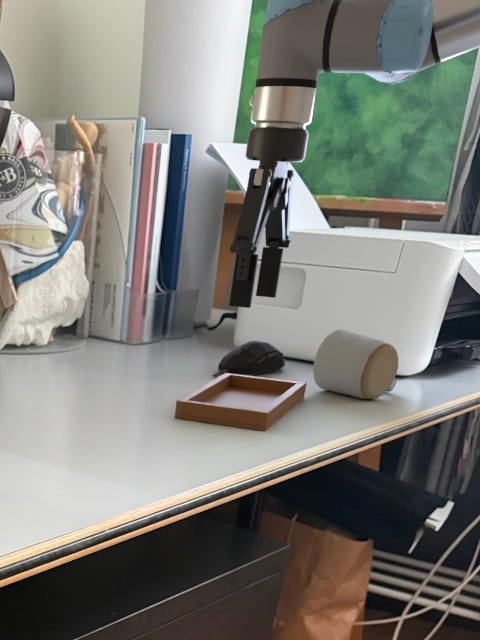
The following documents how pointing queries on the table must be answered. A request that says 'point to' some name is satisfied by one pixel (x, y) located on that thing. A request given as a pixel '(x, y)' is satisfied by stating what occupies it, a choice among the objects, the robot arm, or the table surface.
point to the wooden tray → (241, 401)
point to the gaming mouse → (252, 359)
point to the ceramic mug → (355, 365)
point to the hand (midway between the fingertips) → (253, 301)
